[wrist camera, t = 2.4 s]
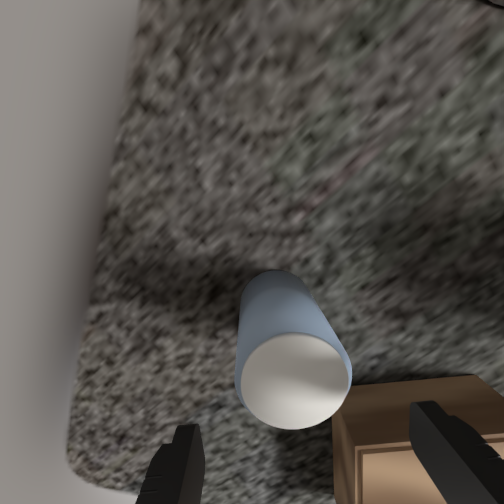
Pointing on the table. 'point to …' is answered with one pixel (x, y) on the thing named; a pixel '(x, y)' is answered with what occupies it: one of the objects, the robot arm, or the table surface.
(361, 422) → the cardboard box
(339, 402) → the canister
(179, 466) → the robot arm
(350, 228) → the table surface
